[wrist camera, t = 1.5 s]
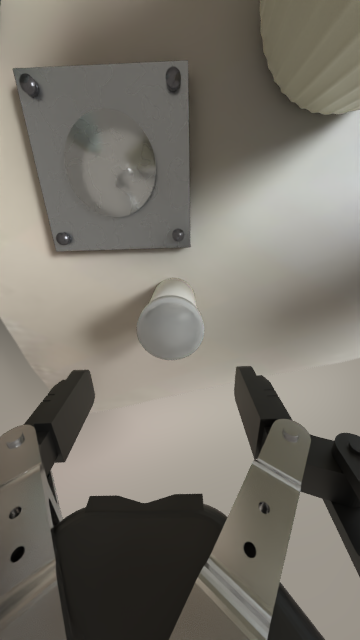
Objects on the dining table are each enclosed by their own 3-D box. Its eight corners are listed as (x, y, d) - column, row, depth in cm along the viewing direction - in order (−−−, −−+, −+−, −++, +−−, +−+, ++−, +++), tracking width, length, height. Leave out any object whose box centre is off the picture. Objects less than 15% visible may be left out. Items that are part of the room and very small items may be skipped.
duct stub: (197, 274, 25) (204, 297, 17) (197, 319, 28) (203, 359, 19) (148, 276, 25) (132, 300, 17) (152, 320, 28) (140, 360, 19)
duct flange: (187, 72, 19) (188, 52, 17) (189, 245, 24) (190, 247, 22) (25, 80, 19) (5, 61, 17) (63, 249, 24) (52, 252, 22)
